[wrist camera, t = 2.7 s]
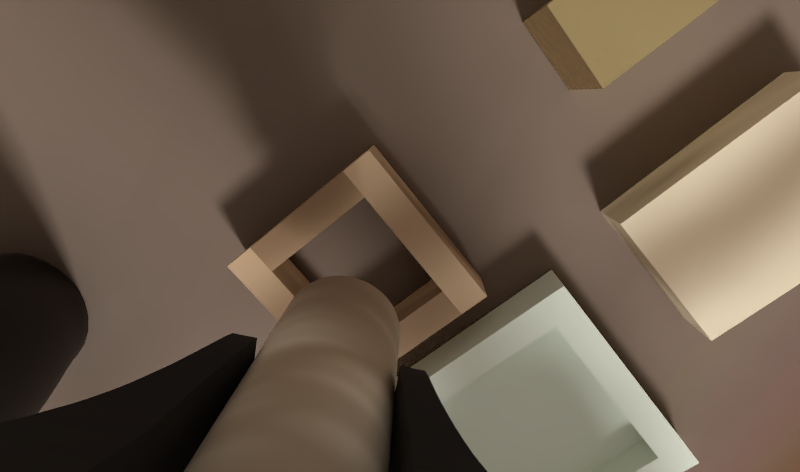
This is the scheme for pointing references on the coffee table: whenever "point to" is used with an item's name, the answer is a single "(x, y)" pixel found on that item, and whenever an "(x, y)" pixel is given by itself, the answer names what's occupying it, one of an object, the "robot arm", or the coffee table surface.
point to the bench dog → (606, 34)
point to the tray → (549, 392)
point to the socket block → (406, 217)
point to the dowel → (314, 389)
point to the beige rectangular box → (723, 213)
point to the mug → (35, 332)
